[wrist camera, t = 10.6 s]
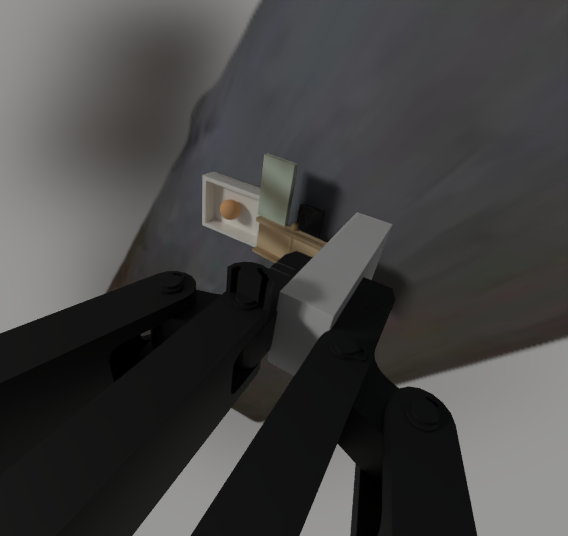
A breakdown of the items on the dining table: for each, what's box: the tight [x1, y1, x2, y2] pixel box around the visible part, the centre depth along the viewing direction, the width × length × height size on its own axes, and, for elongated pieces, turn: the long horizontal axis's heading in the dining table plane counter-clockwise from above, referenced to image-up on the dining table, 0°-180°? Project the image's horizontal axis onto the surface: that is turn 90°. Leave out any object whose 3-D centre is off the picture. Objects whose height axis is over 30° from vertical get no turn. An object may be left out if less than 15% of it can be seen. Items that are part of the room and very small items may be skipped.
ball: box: [220, 199, 240, 220], centre depth 56 cm, size 4×4×4 cm
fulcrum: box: [297, 204, 325, 238], centre depth 51 cm, size 9×4×5 cm, turn 170°
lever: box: [252, 154, 327, 263], centre depth 45 cm, size 16×16×2 cm
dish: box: [202, 172, 261, 247], centre depth 56 cm, size 9×12×3 cm
